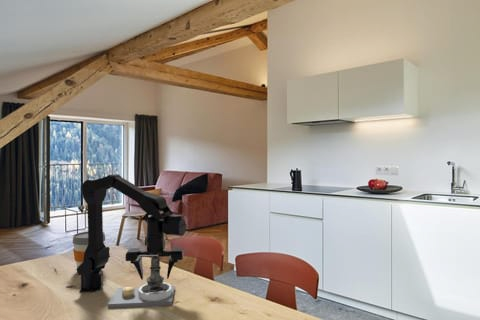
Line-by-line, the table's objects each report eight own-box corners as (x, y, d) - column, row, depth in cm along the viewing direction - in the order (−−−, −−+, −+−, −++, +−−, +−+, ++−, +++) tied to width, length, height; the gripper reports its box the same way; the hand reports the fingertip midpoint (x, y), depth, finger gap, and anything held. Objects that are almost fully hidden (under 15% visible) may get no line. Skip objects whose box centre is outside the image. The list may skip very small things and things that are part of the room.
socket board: (107, 307, 108) (107, 297, 108) (117, 291, 121) (117, 282, 121) (171, 305, 110) (171, 295, 110) (174, 289, 123) (174, 280, 123)
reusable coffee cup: (111, 268, 144) (111, 233, 144) (84, 277, 133) (84, 239, 133) (93, 263, 151) (93, 229, 150) (66, 271, 140) (66, 235, 140)
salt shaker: (160, 293, 113) (161, 257, 112) (143, 292, 113) (143, 256, 113) (166, 286, 118) (166, 252, 118) (149, 285, 119) (150, 251, 119)
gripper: (184, 227, 124) (183, 270, 125) (132, 228, 122) (131, 271, 123) (182, 235, 113) (182, 281, 114) (125, 236, 111) (124, 283, 112)
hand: (155, 278), depth 116 cm, fingers closed on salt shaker, 8 cm apart
